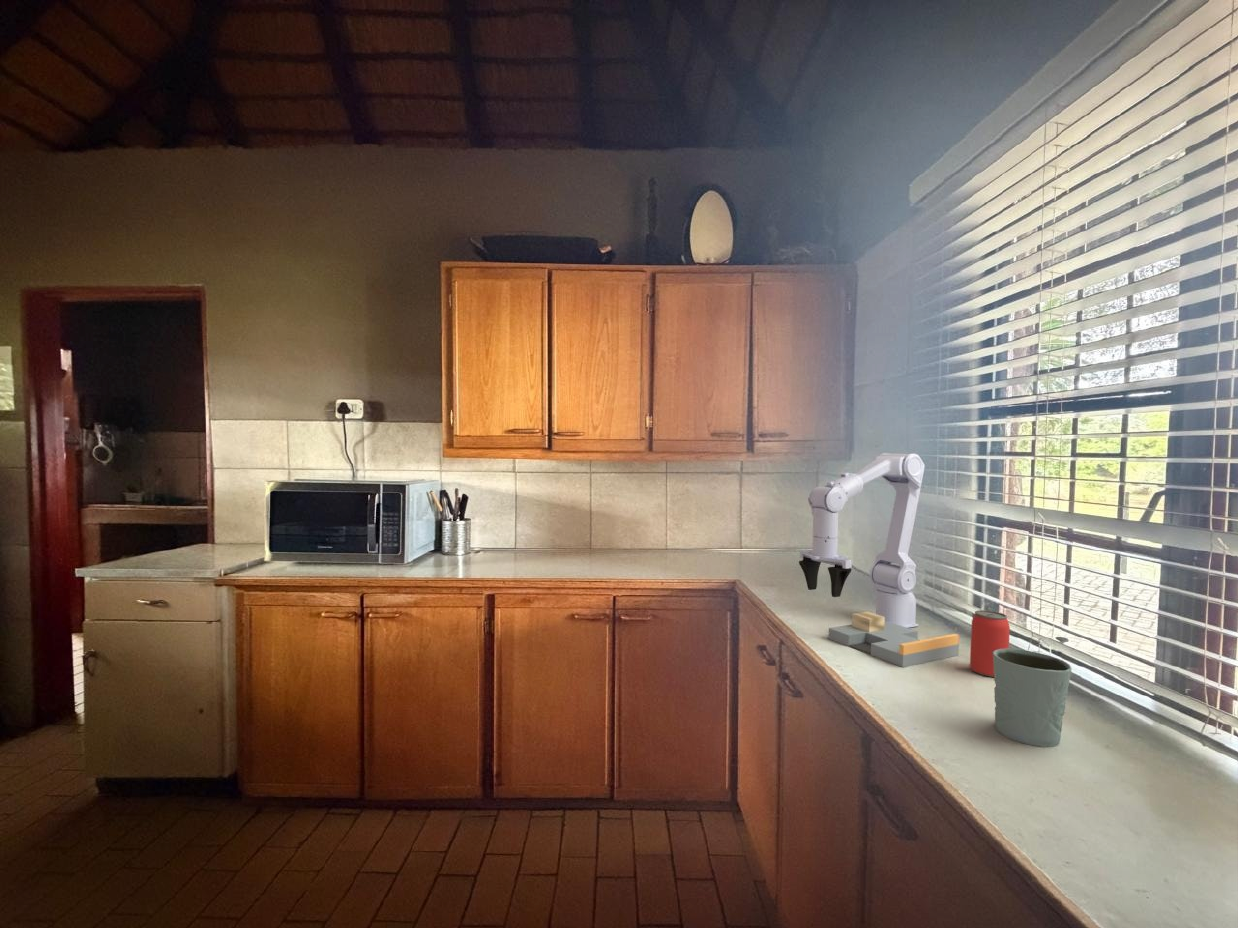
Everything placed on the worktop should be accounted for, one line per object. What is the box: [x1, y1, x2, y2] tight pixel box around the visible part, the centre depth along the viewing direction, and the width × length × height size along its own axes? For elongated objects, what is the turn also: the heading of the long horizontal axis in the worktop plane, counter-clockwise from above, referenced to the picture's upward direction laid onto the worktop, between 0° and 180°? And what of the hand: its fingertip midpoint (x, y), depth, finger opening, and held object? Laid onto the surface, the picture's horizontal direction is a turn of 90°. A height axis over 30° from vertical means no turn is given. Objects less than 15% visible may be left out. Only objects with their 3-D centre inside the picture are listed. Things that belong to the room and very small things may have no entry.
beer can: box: [969, 609, 1011, 678], centre depth 121 cm, size 7×7×12 cm
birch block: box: [851, 611, 885, 632], centre depth 141 cm, size 5×5×3 cm
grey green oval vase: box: [993, 648, 1073, 748], centre depth 94 cm, size 10×10×12 cm
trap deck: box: [828, 621, 960, 668], centre depth 135 cm, size 18×20×4 cm
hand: (823, 592), depth 143 cm, fingers open, 7 cm apart
